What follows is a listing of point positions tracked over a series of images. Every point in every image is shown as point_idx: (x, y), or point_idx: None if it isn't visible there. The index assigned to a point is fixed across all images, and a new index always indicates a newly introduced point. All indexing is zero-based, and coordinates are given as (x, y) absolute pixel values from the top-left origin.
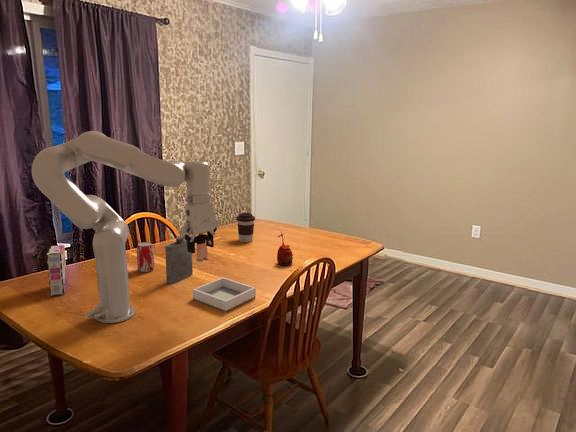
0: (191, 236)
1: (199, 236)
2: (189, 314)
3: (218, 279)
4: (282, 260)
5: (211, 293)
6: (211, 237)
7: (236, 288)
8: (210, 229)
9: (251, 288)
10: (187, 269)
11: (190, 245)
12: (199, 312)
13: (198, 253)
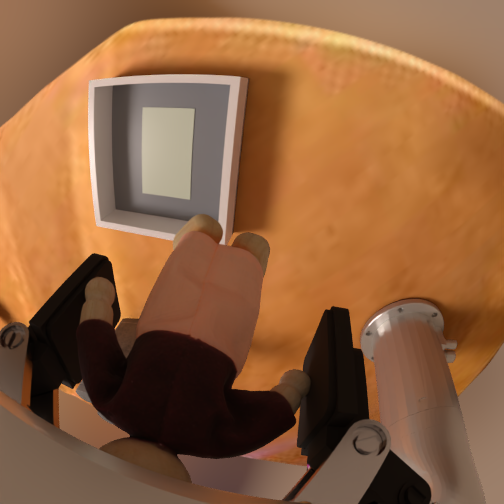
0: (362, 490)
1: (198, 440)
2: (327, 175)
3: (115, 226)
4: None
5: (171, 205)
6: (53, 327)
7: (107, 156)
8: (2, 425)
9: (99, 86)
10: (132, 334)
11: (363, 392)
12: (299, 155)
13: (255, 295)
